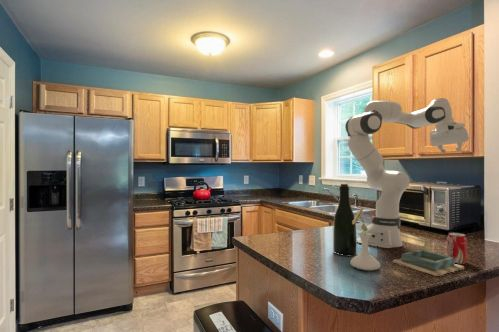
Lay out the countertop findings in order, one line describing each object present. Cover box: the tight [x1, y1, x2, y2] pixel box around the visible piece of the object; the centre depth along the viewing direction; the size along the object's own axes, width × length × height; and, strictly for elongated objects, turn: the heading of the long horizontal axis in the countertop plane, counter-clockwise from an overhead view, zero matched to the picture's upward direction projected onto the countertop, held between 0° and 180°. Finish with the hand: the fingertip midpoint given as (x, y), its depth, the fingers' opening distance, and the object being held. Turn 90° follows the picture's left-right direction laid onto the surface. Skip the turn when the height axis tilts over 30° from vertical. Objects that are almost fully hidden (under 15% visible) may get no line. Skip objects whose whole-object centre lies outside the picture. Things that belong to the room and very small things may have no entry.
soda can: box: [446, 232, 469, 265], centre depth 122 cm, size 7×7×12 cm
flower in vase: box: [350, 206, 381, 271], centre depth 115 cm, size 13×11×25 cm
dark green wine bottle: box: [332, 183, 358, 256], centre depth 136 cm, size 10×10×33 cm
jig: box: [392, 249, 465, 276], centre depth 117 cm, size 18×18×4 cm
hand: (451, 152), depth 157 cm, fingers open, 8 cm apart
